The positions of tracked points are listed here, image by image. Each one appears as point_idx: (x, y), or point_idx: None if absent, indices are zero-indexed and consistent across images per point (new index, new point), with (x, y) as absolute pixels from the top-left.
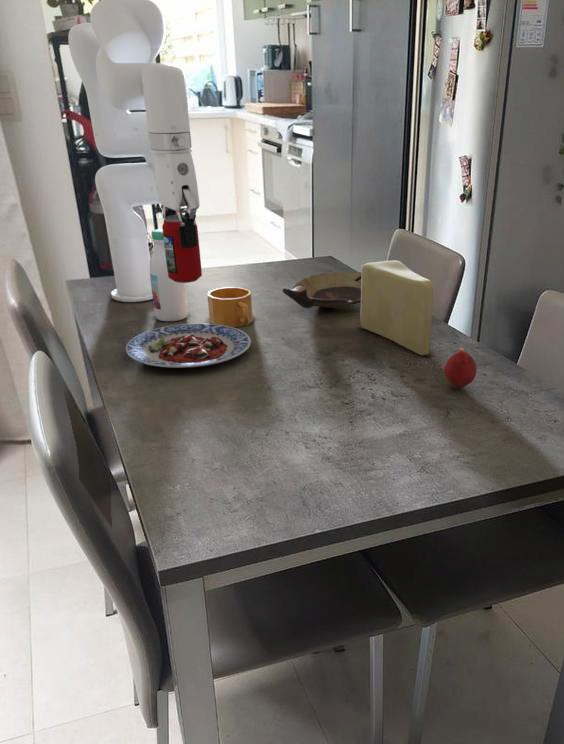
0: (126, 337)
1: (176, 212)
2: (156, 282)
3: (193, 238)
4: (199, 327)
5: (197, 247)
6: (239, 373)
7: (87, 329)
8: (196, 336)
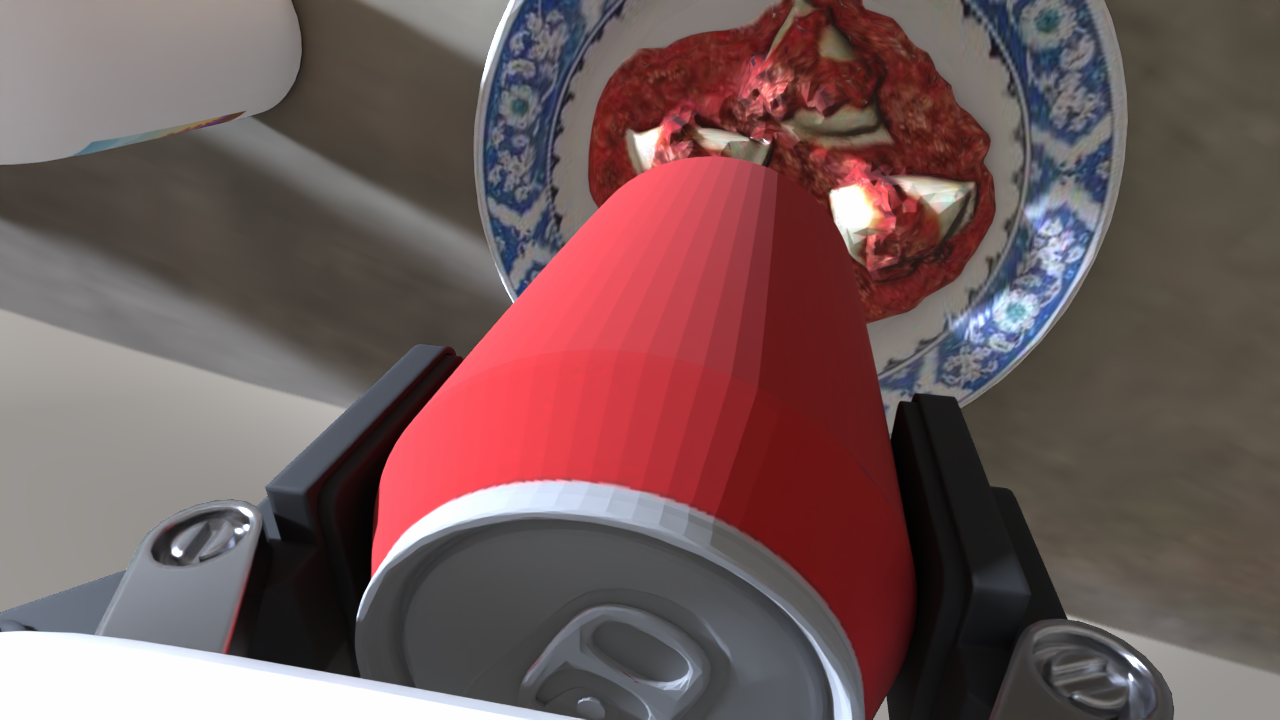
0: (433, 319)
1: (255, 613)
2: (123, 141)
3: (1019, 521)
4: (558, 28)
5: (851, 324)
6: (1201, 111)
7: (284, 392)
8: (610, 71)
